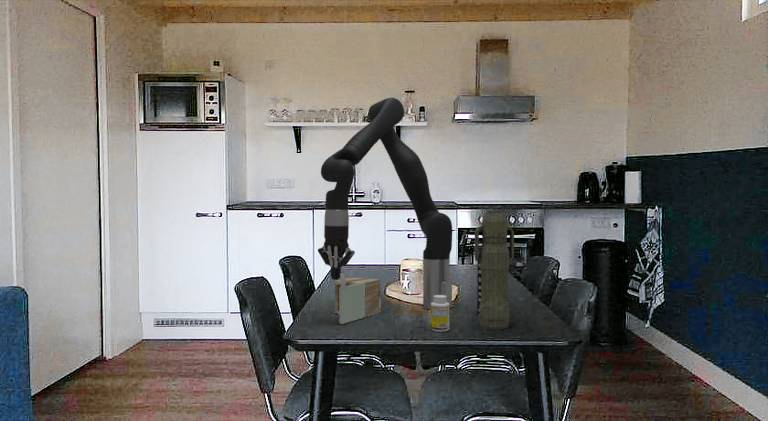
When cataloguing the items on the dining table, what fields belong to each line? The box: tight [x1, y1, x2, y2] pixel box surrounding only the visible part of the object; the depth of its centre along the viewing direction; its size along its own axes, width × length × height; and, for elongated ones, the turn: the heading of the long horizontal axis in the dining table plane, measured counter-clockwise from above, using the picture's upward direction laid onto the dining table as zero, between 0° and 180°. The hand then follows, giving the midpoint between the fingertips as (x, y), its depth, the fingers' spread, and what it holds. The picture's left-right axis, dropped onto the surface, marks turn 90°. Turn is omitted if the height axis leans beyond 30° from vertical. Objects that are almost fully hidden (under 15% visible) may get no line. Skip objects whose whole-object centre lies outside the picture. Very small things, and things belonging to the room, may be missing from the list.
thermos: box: [474, 210, 515, 330], centre depth 200 cm, size 9×12×35 cm
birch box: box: [333, 276, 382, 318], centre depth 221 cm, size 12×10×11 cm
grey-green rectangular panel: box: [338, 271, 366, 325], centre depth 208 cm, size 12×2×16 cm, turn 145°
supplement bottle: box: [430, 295, 451, 333], centre depth 196 cm, size 6×6×10 cm
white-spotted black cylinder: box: [476, 253, 481, 318], centre depth 216 cm, size 8×8×20 cm
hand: (335, 279), depth 206 cm, fingers closed
